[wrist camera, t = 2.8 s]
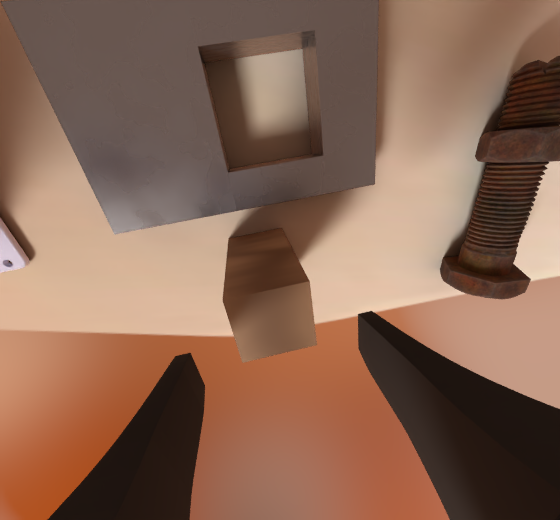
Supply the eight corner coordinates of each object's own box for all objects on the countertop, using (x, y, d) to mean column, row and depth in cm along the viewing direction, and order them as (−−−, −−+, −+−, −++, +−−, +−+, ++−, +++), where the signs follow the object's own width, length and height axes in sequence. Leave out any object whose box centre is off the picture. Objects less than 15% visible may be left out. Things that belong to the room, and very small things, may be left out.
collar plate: (131, 222, 16) (114, 234, 14) (45, 28, 12) (0, 1, 10) (357, 179, 18) (375, 184, 15) (355, -12, 13) (379, -44, 11)
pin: (240, 283, 20) (242, 362, 13) (228, 238, 18) (222, 300, 11) (288, 273, 20) (316, 345, 13) (281, 228, 18) (309, 281, 11)
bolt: (498, 80, 18) (449, 264, 24) (476, 69, 15) (427, 280, 21) (628, 55, 14) (529, 285, 20) (632, 33, 11) (515, 309, 17)
